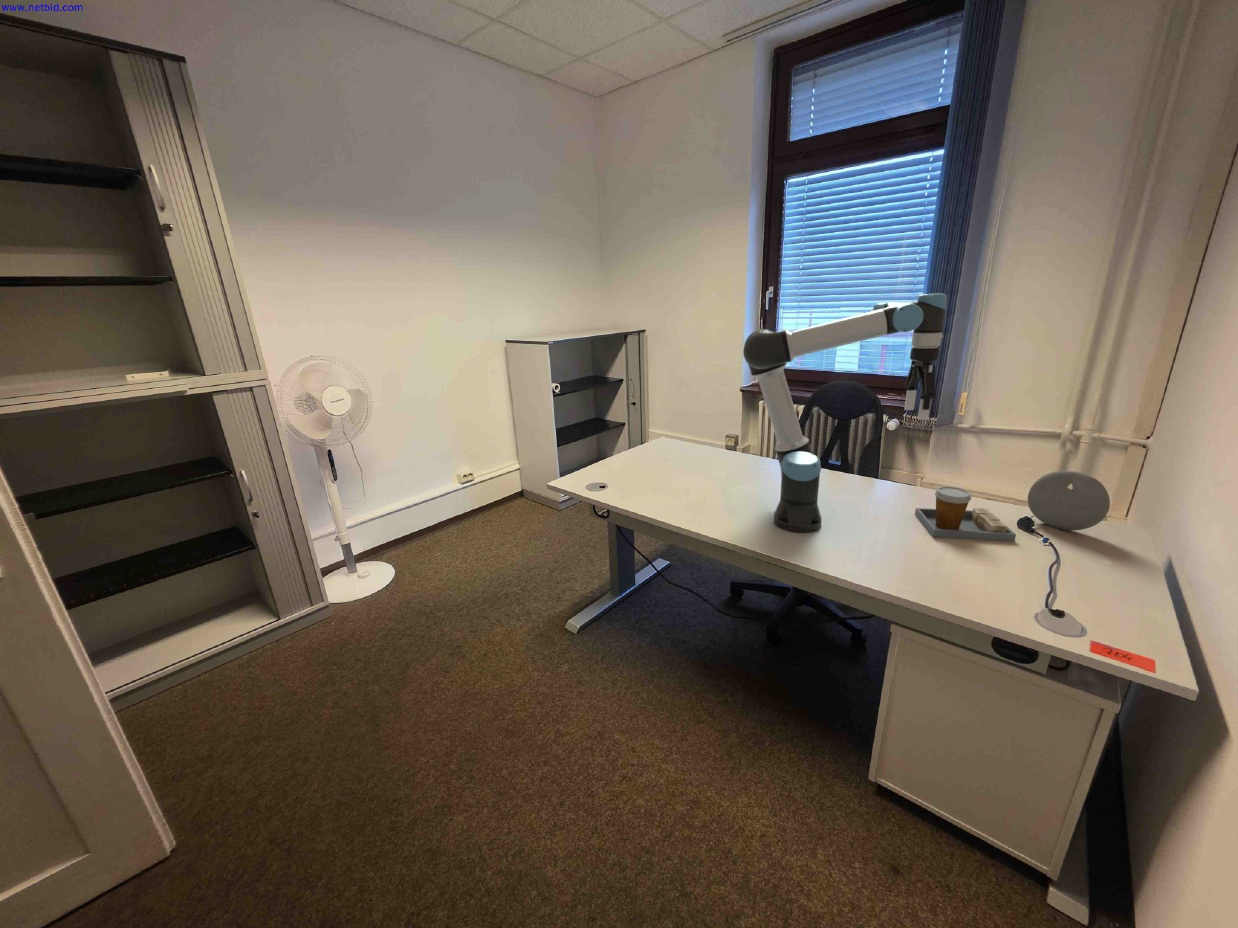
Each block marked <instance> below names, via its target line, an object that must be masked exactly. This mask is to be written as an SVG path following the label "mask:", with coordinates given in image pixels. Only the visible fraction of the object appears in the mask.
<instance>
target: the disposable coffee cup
mask: <svg viewBox="0 0 1238 928" xmlns="http://www.w3.org/2000/svg"><path fill="white" fill-rule="evenodd" d="M934 495H935V509H936V526H937V527H939V528H941V529H946V530H958V529H959V527H960V525H961V522H962V519H963V516H964V514H965V511H966V510H967V507H968V505H969V502H970V501H971V500H972V496H971V492H969V490H966V489H964V488H960V487H958V486H957V487H956V486H940V487H938V488H937V489H936V491H935V492H934Z"/></svg>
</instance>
